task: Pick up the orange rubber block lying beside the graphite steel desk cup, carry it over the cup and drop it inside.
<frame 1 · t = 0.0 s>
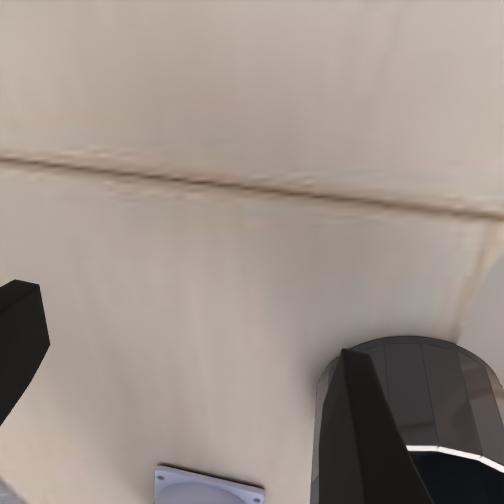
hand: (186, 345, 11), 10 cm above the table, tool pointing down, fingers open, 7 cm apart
desk cup: (405, 399, 26), on the table
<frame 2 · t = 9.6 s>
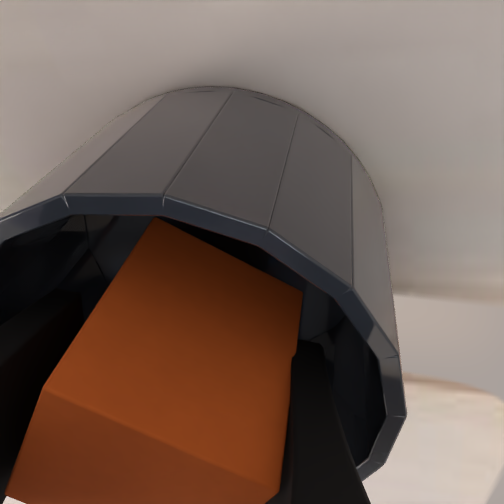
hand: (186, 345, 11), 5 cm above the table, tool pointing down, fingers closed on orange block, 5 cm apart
orange block: (199, 306, 12), point 3 cm above the table, touching gripper
desk cup: (226, 241, 15), on the table
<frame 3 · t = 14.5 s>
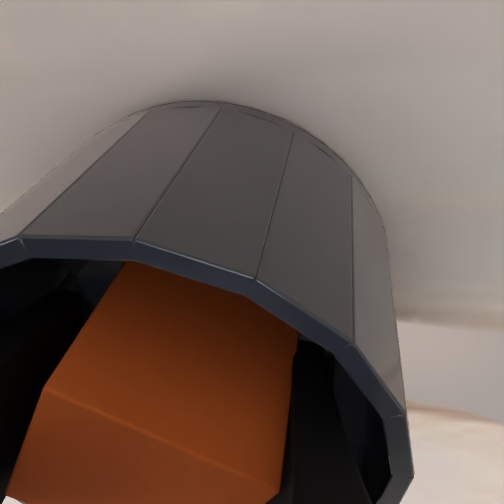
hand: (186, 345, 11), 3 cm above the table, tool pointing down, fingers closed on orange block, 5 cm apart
orange block: (199, 306, 12), point 2 cm above the table, touching gripper
desk cup: (218, 264, 14), on the table
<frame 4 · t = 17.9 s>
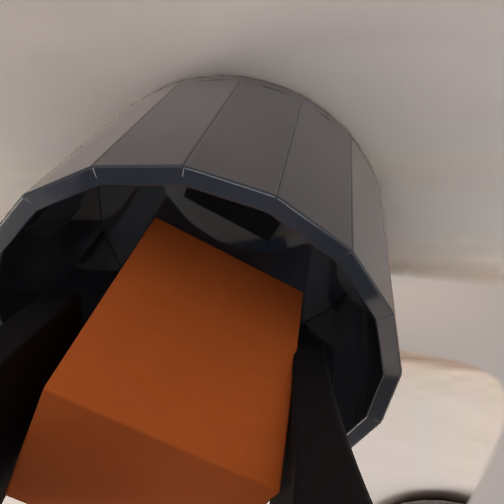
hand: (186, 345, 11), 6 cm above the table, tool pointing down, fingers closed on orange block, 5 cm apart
orange block: (199, 307, 12), point 4 cm above the table, touching gripper
desk cup: (233, 224, 16), on the table
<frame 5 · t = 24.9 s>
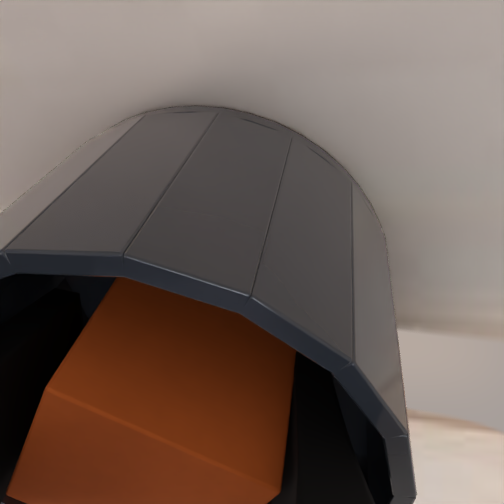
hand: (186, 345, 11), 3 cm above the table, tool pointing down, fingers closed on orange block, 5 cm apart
orange block: (200, 307, 12), point 2 cm above the table, touching gripper
desk cup: (215, 271, 14), on the table
when the fingers open (7 cm above the table, at t = 31.3 s): orange block drops 5 cm, resting on desk cup.
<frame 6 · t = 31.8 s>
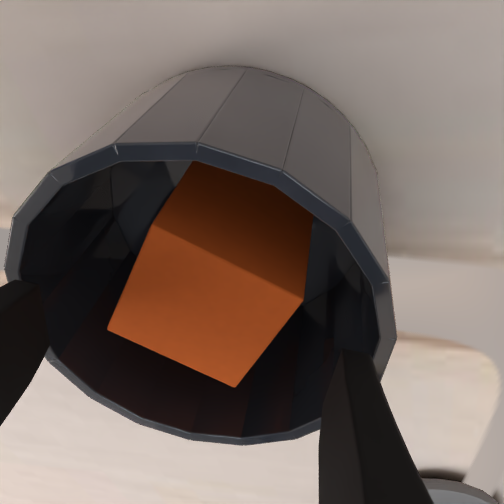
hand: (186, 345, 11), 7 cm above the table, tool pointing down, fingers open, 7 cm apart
orange block: (235, 217, 16), point 1 cm above the table, touching desk cup
desk cup: (238, 208, 16), on the table
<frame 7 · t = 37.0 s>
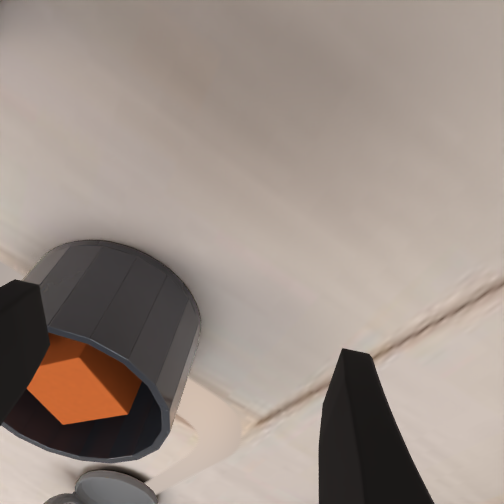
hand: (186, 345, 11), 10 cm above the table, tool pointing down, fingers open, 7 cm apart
orange block: (111, 318, 26), point 1 cm above the table, touching desk cup
desk cup: (116, 311, 26), on the table
pocket watch: (107, 484, 38), on the table
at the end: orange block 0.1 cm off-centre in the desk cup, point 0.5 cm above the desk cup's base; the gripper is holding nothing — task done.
